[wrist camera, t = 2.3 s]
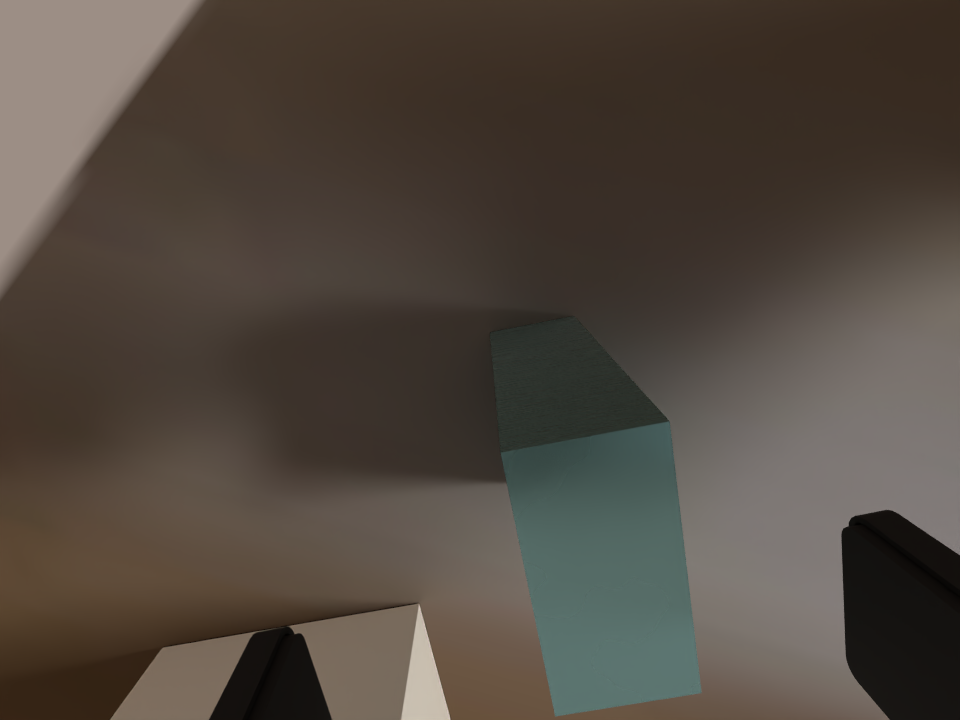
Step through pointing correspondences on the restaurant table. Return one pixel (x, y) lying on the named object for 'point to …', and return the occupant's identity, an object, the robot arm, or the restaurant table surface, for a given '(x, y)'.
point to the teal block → (594, 519)
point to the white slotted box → (337, 660)
